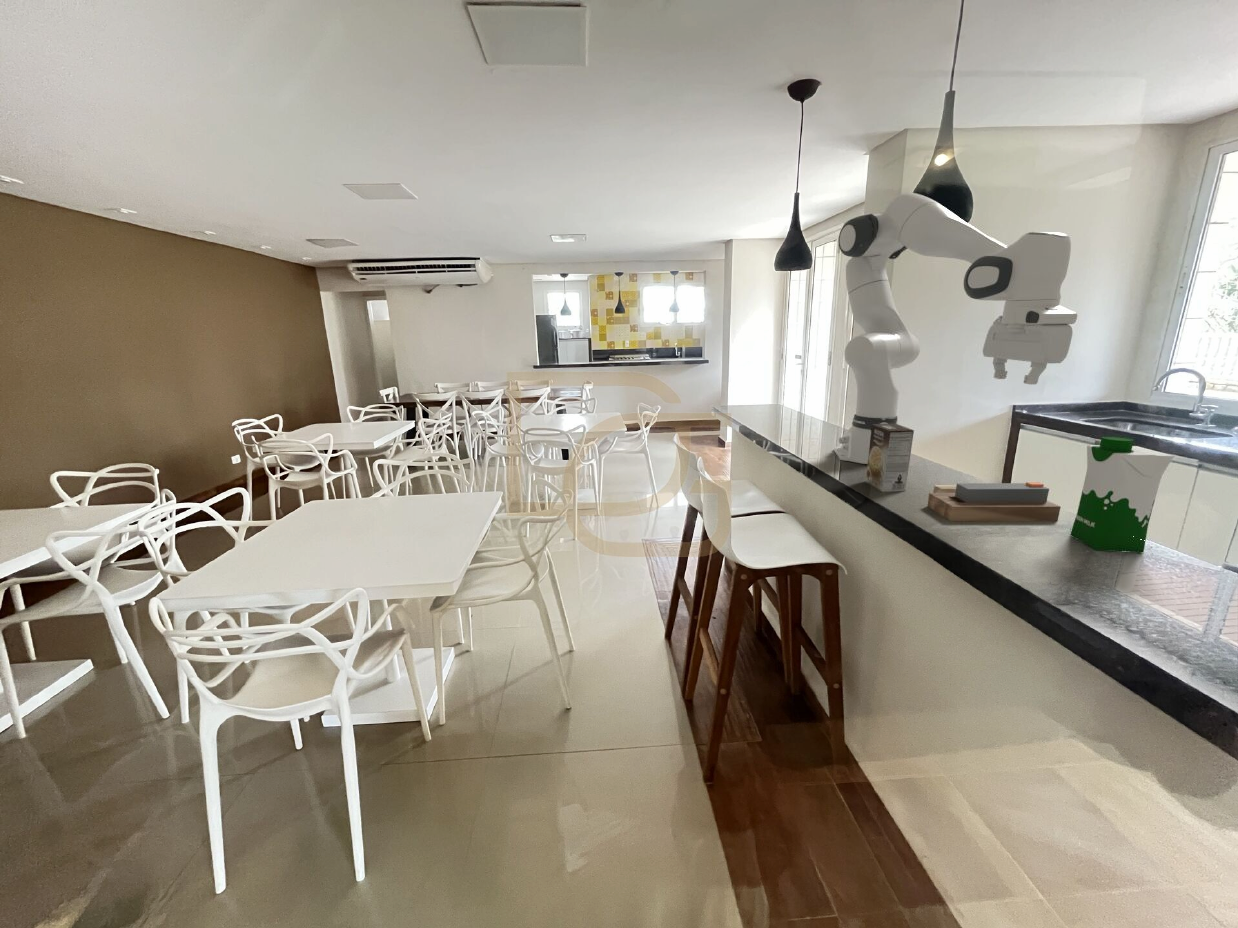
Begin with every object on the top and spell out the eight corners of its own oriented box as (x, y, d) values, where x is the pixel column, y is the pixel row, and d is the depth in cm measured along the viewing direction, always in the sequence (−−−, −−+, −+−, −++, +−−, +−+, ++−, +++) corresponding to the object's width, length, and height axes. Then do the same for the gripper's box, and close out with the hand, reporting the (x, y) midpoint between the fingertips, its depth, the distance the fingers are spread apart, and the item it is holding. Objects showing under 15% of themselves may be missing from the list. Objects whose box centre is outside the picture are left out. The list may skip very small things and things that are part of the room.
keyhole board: (927, 507, 109) (929, 493, 108) (1025, 507, 107) (1027, 492, 106) (950, 522, 100) (952, 506, 99) (1057, 522, 99) (1060, 506, 98)
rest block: (932, 494, 117) (934, 485, 117) (963, 494, 117) (964, 484, 116) (939, 498, 114) (941, 488, 114) (970, 498, 114) (972, 488, 113)
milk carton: (1061, 533, 94) (1083, 433, 88) (1115, 535, 92) (1142, 433, 87) (1094, 552, 85) (1121, 443, 80) (1155, 555, 83) (1186, 444, 78)
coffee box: (864, 482, 129) (870, 423, 125) (888, 481, 129) (895, 423, 124) (881, 492, 120) (888, 430, 116) (907, 492, 120) (915, 429, 116)
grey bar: (953, 505, 106) (957, 480, 105) (1030, 505, 105) (1035, 480, 103) (964, 512, 102) (968, 486, 101) (1044, 512, 101) (1049, 486, 99)
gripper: (981, 315, 110) (969, 376, 114) (1049, 315, 91) (1032, 387, 95) (1010, 315, 110) (997, 375, 114) (1085, 314, 90) (1066, 387, 94)
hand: (1014, 381), depth 104 cm, fingers open, 8 cm apart
